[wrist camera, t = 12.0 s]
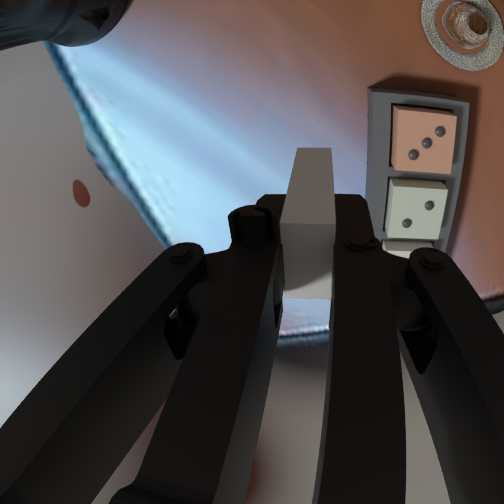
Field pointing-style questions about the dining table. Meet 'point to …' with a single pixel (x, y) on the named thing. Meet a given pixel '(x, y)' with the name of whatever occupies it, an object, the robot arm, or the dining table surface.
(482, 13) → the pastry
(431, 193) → the key
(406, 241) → the key
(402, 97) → the keypad
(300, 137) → the dining table surface
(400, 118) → the key
